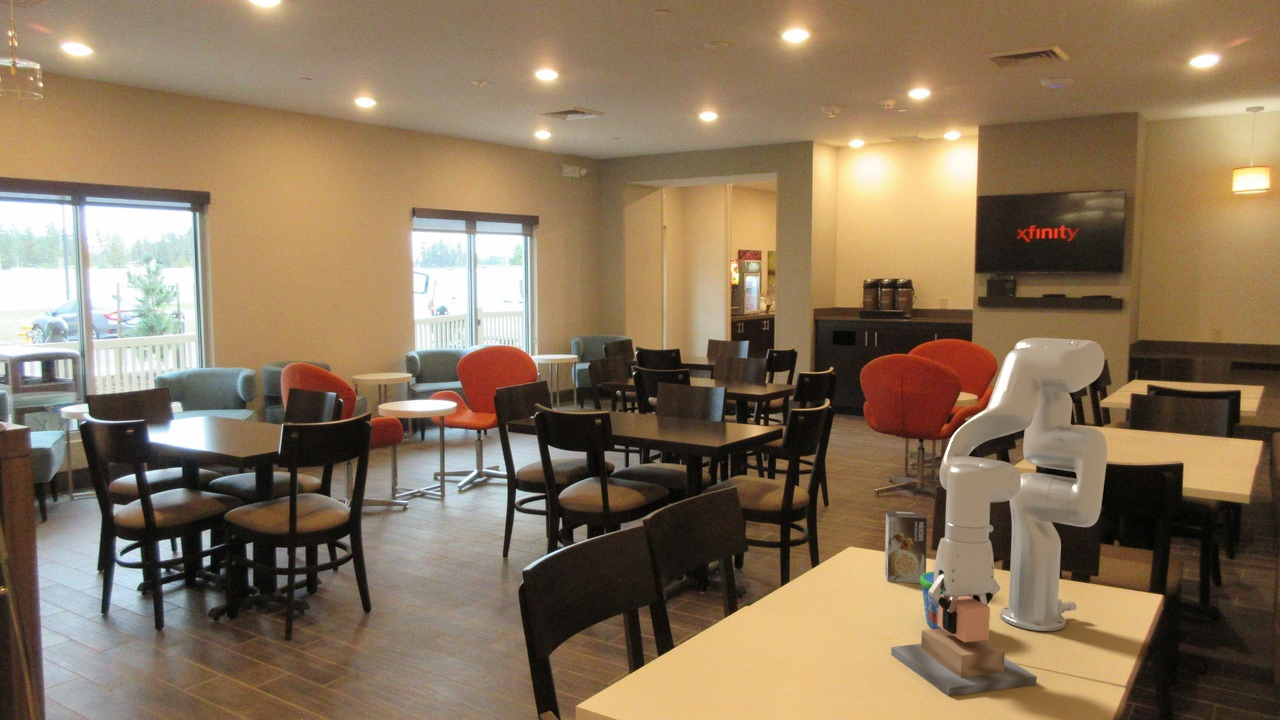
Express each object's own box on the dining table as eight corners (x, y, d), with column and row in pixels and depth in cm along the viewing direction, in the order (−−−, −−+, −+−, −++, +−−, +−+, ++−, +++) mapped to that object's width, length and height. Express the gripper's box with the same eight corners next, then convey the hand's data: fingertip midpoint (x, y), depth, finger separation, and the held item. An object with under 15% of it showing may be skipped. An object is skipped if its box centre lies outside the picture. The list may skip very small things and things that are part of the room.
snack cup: (916, 610, 193) (918, 565, 192) (967, 615, 190) (969, 569, 190) (920, 637, 178) (922, 588, 177) (976, 643, 175) (978, 593, 174)
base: (971, 645, 174) (972, 618, 174) (1036, 684, 157) (1037, 654, 157) (891, 654, 169) (892, 626, 169) (948, 696, 152) (950, 665, 152)
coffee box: (922, 576, 217) (924, 511, 215) (926, 584, 210) (928, 518, 209) (883, 573, 218) (885, 509, 217) (886, 582, 212) (888, 516, 211)
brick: (960, 623, 167) (962, 592, 167) (988, 639, 159) (990, 607, 159) (937, 626, 166) (939, 594, 165) (964, 642, 158) (966, 609, 158)
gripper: (992, 524, 167) (988, 618, 168) (914, 530, 162) (910, 626, 164) (1020, 535, 160) (1015, 633, 161) (938, 541, 155) (934, 642, 157)
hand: (962, 628), depth 163 cm, fingers closed on brick, 5 cm apart
